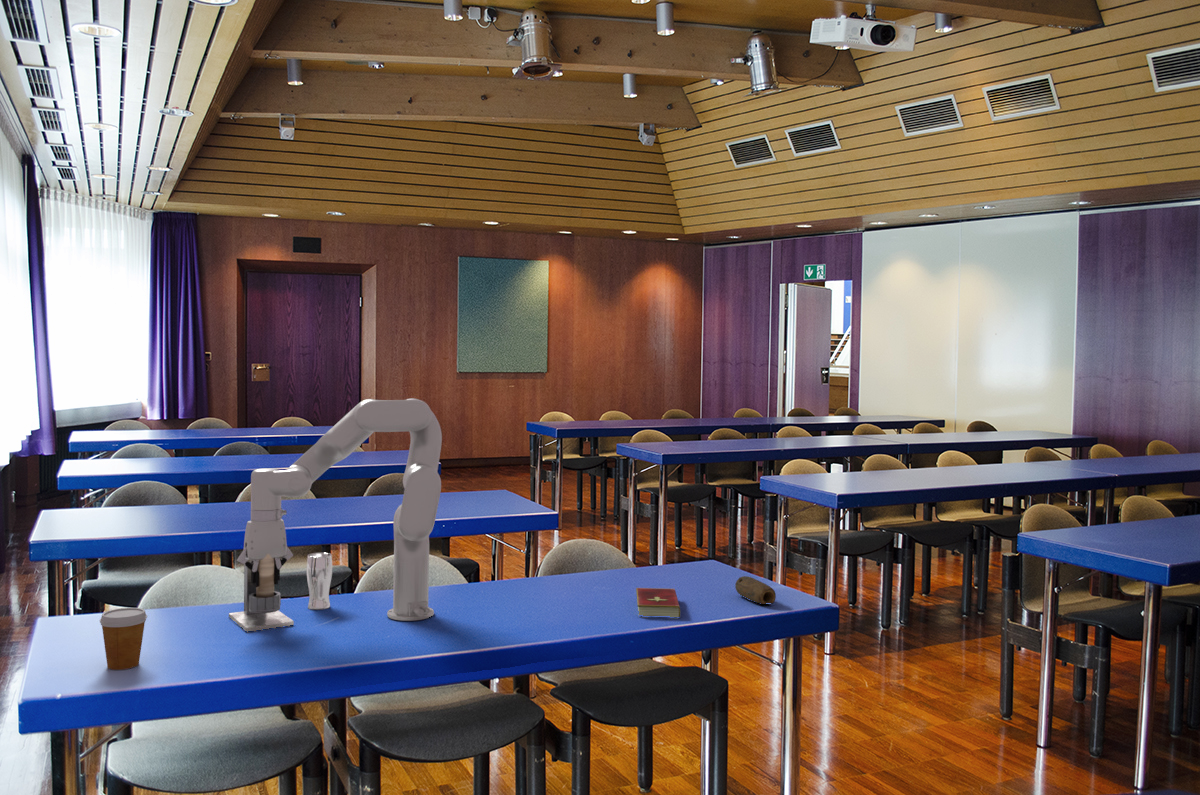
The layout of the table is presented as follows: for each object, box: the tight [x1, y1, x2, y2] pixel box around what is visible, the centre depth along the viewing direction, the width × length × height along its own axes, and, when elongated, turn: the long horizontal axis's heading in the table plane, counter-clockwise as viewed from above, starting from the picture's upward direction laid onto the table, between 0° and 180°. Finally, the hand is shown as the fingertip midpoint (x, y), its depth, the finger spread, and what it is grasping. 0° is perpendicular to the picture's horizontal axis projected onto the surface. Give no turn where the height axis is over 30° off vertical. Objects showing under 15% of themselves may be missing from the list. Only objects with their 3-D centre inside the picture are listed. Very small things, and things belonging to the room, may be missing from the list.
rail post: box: [256, 554, 275, 597], centre depth 238 cm, size 4×4×14 cm
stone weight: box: [734, 575, 777, 604], centre depth 274 cm, size 15×7×7 cm, turn 27°
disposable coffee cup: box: [99, 607, 148, 671], centre depth 204 cm, size 10×10×12 cm
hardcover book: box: [635, 587, 681, 618], centre depth 263 cm, size 12×21×4 cm, turn 179°
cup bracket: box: [228, 557, 295, 633], centre depth 241 cm, size 17×12×16 cm
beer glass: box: [306, 552, 333, 611], centre depth 257 cm, size 7×7×15 cm
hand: (265, 584), depth 239 cm, fingers closed on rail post, 4 cm apart
